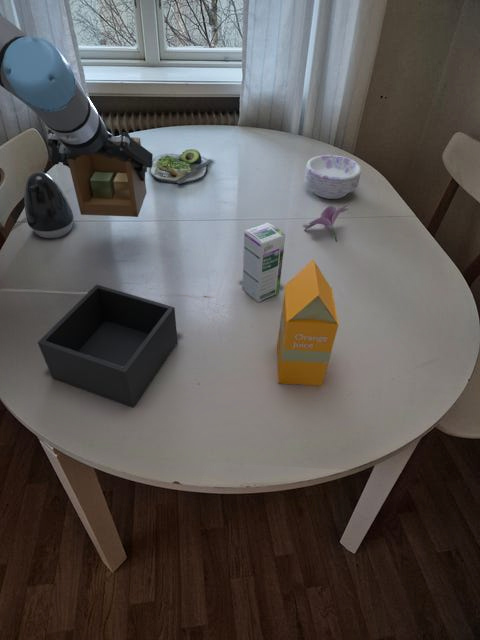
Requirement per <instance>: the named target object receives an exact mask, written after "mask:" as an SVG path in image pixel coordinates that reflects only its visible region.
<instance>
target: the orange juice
mask: <svg viewBox="0 0 480 640" xmlns="http://www.w3.org/2000/svg"><path fill="white" fill-rule="evenodd" d="M336 309H337V308H336V304H335V299H334V292H333V287H331V285H330V284H329V282H328V281H327V279H326V277H325V276H324V275H323V273H322V271H321V269H320V268H319V266H318V265H317V263H316V261H315V258H313V259H312V260H311V261H310V262H308V263H307V264H306V265H305V266H304V267H303V268H302V269H300V271H299V272H298V273H296V274H295V276H293V277H292V278H291V279H290V280H289V281H288V282H287V283H286V284H284V293H283V301H282V308H281V313H280V320H279V328H278V329H279V330H278V337H277V343H276V354H278V361H277V384H278V383H282V385H296V384H300V386H316V385H317V386H319V387H322V386H323V383H324V380H325V377H326V373H327V369H328V365H329V363H330V360H331V355H332V350H333V346H334V343H335V339H336V336H337V332H338V328H339V325H340V324H339V321H338V315H337V310H336ZM317 386H316V387H317Z"/></svg>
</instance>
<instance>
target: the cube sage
mask: <svg viewBox="0 0 480 640" xmlns="http://www.w3.org/2000/svg"><path fill="white" fill-rule="evenodd" d="M114 179H115V178H114V173H112V172H94V174H93V176H92V177H91V179H90V183H91V188H92V193H93V197H94V198H108V199H112V198H113V196H114V194H115V188H114V182H113V181H114Z"/></svg>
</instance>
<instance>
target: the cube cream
mask: <svg viewBox="0 0 480 640" xmlns="http://www.w3.org/2000/svg"><path fill="white" fill-rule="evenodd" d="M113 182H114V188H115V194H116V199H130V192H129V185H128V179H127V173H117V175H116V177H115V179H114V181H113Z"/></svg>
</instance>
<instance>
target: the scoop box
mask: <svg viewBox="0 0 480 640" xmlns="http://www.w3.org/2000/svg"><path fill="white" fill-rule="evenodd" d="M130 137H131V139H133V140H134V141H136V142H137V143H138V144H140V145H141V146H142V143H141V138H140V137H132V136H130ZM108 152H109V150H108ZM67 158H68V156H67ZM129 160H130V159H129ZM68 163H69V167H70V168H69V167H68V168H69V171H70V175H71V179H72V184H73V188H74V191H75V197H76V200H77V204H78V208H79V212H80V215H81V216H103V217H129V218H130V217H131V218H133V217H134V218H138V217H139V215H140V212H141V211H142V207H143V204H144V201H145V198H146V195H147V193H148V192H147V184H146V180H145V181H141V180H140V178H139V176H138V175H137V173H136V171H135V170H134V166H133V165H132V164H131V162H130V161H125V162H123V161H121V160H118V159H116V158H111V159H110V158H107V157H105V156H103V155H97V154H95V153H93V154H90V155H81V157H77V158H76V159H75V160H73V159H68ZM94 172H112V173H114V178H115V177H116V175H117V173H127V179H128V185H129V192H130V199H116V194H114V196H113V198H112V199H108V198H94V197H93V193H92V188H91V183H90V179H91V177H92V176H93V174H94Z"/></svg>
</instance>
